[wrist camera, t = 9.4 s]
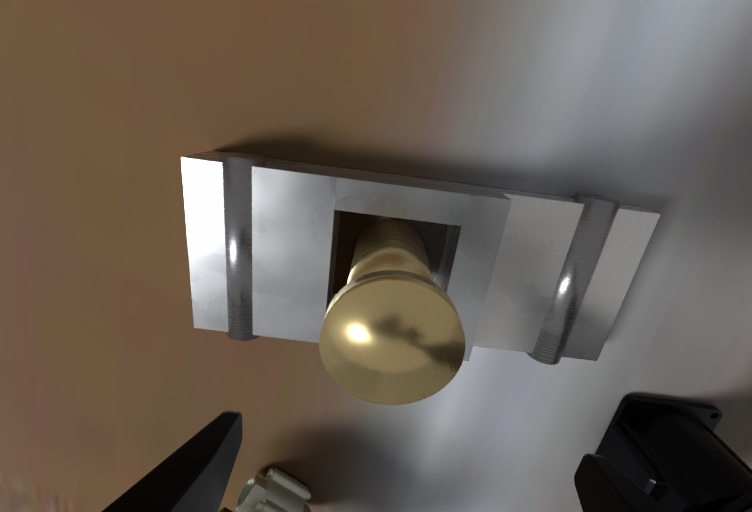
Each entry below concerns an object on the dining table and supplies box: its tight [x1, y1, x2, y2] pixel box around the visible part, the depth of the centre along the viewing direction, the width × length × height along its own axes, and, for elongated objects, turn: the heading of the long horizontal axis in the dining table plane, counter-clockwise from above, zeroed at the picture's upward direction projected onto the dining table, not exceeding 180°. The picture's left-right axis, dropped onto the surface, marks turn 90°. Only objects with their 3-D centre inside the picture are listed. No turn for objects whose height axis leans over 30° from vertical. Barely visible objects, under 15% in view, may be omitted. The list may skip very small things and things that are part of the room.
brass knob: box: [319, 220, 465, 405], centre depth 16 cm, size 5×5×9 cm
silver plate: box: [181, 151, 661, 365], centre depth 19 cm, size 23×10×3 cm, turn 83°
